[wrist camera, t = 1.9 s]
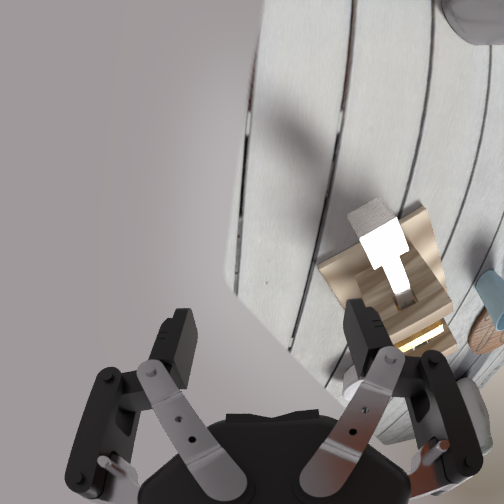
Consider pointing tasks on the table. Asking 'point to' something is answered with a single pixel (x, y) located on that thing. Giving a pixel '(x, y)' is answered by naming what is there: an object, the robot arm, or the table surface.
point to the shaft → (384, 246)
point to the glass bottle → (477, 413)
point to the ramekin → (350, 383)
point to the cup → (492, 296)
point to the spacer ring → (419, 335)
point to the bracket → (381, 294)
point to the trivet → (485, 335)
